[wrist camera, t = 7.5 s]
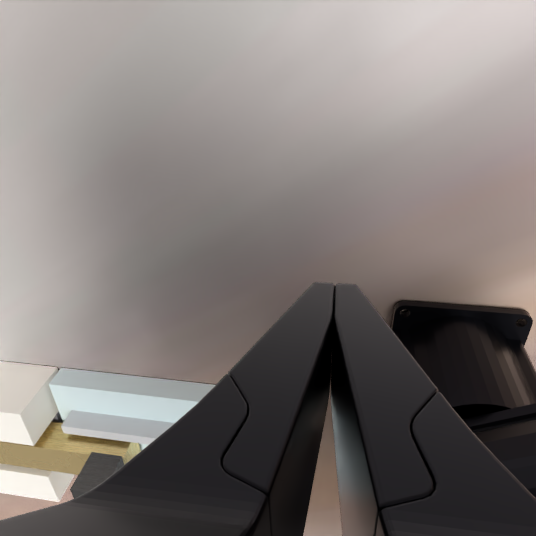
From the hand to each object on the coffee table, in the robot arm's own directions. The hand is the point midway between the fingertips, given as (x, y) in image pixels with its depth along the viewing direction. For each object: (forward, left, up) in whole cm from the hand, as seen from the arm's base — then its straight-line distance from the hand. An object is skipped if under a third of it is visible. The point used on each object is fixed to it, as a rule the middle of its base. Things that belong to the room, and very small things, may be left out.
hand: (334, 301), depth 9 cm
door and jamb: (+13, +20, -12) cm, 27 cm away
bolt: (+17, +20, -10) cm, 29 cm away
